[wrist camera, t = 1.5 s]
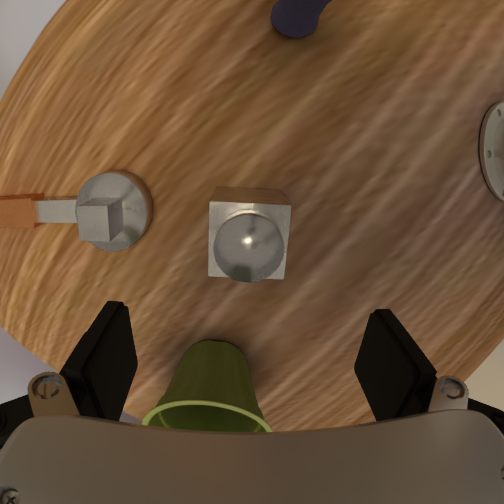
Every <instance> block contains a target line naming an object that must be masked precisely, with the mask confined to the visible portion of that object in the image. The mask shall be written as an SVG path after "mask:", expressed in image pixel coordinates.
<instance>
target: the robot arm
mask: <svg viewBox="0 0 504 504" xmlns="http://www.w3.org/2000/svg"><path fill="white" fill-rule="evenodd" d="M480 161H481V166H482V171H483V174H484V177H485V180H486V182H487V185H488V187H489V188H490V190H491V191H492V193H493V194H494V195H495V196H496V197H497V198H498V199H500V200H502V201H504V101H502V102H498V103H495V104H494V105H493V106H492V107H491V108H490V109H489V110H488V112H487V113H486V115H485V118H484V120H483V124H482V128H481V133H480ZM137 365H138V361H137V356H136V350H135V345H134V340H133V334H132V329H131V323H130V316H129V310H128V307H127V306H124V304H123V302H118V301H107V303H106V304H105V305H104V307H103V308H102V310H101V311H100V313H99V314H98V316H97V317H96V319H95V320H94V322H93V323H92V325H91V326H90V328H89V329H88V331H87V332H85V333H84V335H83V336H82V338H81V339H80V341H79V342H78V344H77V345H76V347H75V349H74V350H73V352H72V353H71V355H70V356H69V358H68V360H67V361H66V363H65V365H64V366H63V368H62V369H61V371H60V373H55V372H44V373H41V374H38V375H36V376H35V377H34V378H32V380H31V381H30V383H29V385H28V394H27V395H25V396H22V397H19V398H17V399H14V400H11V401H8V402H5V403H3V404H0V504H504V412H503V411H501V410H499V409H497V408H494V407H491V406H489V405H486V404H483V403H481V402H478V401H476V400H473V399H470V398H468V395H469V391H468V388H467V386H466V384H465V383H464V382H463V381H461V380H460V379H458V378H456V377H453V376H442V377H440V378H438V379H437V377H436V376H435V375H436V373H437V371H436V370H435V368H434V367H433V365H432V364H431V363H430V361H429V360H428V359H427V357H426V356H425V354H424V353H423V352H422V350H421V349H420V348H419V346H418V345H417V344H416V342H415V341H414V340H413V338H412V337H411V336H410V335H409V333H408V332H407V331H406V329H405V328H404V327H403V325H402V324H401V323H400V322H399V320H398V319H397V318H396V316H395V315H394V314H393V313H392V311H391V310H390V309H376V310H375V311H374V312H373V313H371V314H370V316H369V319H368V323H367V326H366V330H365V333H364V337H363V340H362V343H361V346H360V350H359V353H358V356H357V359H356V362H355V366H354V370H355V373H356V376H357V378H358V380H359V382H360V385H361V387H362V389H363V391H364V394H365V396H366V398H367V400H368V403H369V405H370V407H371V409H372V412H373V414H374V416H375V419H376V421H377V422H371V423H364V424H357V425H350V426H342V427H334V428H324V429H313V430H299V431H281V432H217V431H198V430H185V429H174V428H164V427H156V426H148V425H140V424H132V423H126V422H119V419H120V416H121V413H122V410H123V407H124V404H125V401H126V398H127V395H128V392H129V389H130V387H131V384H132V381H133V378H134V375H135V373H136V370H137Z"/></svg>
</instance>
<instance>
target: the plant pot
mask: <svg viewBox="0 0 504 504" xmlns="http://www.w3.org/2000/svg"><path fill="white" fill-rule="evenodd" d="M142 425H148V426H156V427H164V428H174V429H185V430H198V431H217V432H273V430H272V429H271V427H270V426H269V425H268V423H267V422H266V421H265V420H264V418H263V414H262V412H261V410H260V408H259V407H258V404H257V400H256V396H255V392H254V389H253V385H252V381H251V377H250V373H249V369H248V365H247V362H246V359H245V357H244V355H243V353H242V352H241V351H240V350H239V349H238V348H236V347H235V346H233V345H231V344H229V343H227V342H217V341H212V340H206V341H202V342H199V343H196V344H194V345H193V346H191V347H190V348H189V349H188V350H187V352H186V354H185V355H184V357H183V359H182V361H181V363H180V365H179V367H178V369H177V371H176V373H175V375H174V377H173V379H172V381H171V383H170V385H169V387H168V389H167V391H166V392H165V394H164V396H163V397H162V398H161V399H160V400H159V402H158V403H157V405H156V407H155V408H153V409H151V410H150V411H149V412H148V413H147V414H146V415H145V417H144V419H143V421H142Z"/></svg>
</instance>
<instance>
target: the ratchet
mask: <svg viewBox="0 0 504 504" xmlns="http://www.w3.org/2000/svg"><path fill="white" fill-rule="evenodd" d="M152 216H153V200H152V196H151V193H150V191H149V189H148V187H147V186H146V184H145V183H144V182H143V181H142V180H141V179H140V178H139V177H138V176H136V175H135V174H133V173H131V172H128V171H124V170H113V171H109V172H106V173H102V174H99V175H97V176H94V177H92V178H91V179H89V180H88V181H87V182H86V183H85V184H84V185H83V187H82V188H81V190H80V192H79V194H78V196H62V197H44V193H42V194H25V195H11V196H0V228H36V227H37V226H39V225H41V224H43V223H78V227H79V236H80V240H81V241H89V242H90V243H91V244H93V245H94V246H96V247H98V248H100V249H102V250H106V251H121V250H124V249H126V248H128V247H130V246H131V245H133V244H134V243H135V242H136V241H137V240H138V239H139V238H140V237H141V235H142V234H143V233H144V232H145V231H146V230H147V228H148V227H149V225H150V223H151V220H152Z"/></svg>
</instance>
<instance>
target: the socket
mask: <svg viewBox="0 0 504 504" xmlns="http://www.w3.org/2000/svg"><path fill="white" fill-rule="evenodd" d="M290 216H291V204H290V203H289V202H288V200H287V199H286V198H285V196H284V195H283V194H282V192H281V191H280V190H275V189H259V188H240V187H216V189H215V191H214V193H213V195H212V197H211V200H210V205H209V262H208V276H212V277H230V278H232V279H234V280H237V281H241V282H257V281H260V280H263V279H284V273H285V264H286V255H287V245H288V236H289V226H290Z"/></svg>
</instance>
